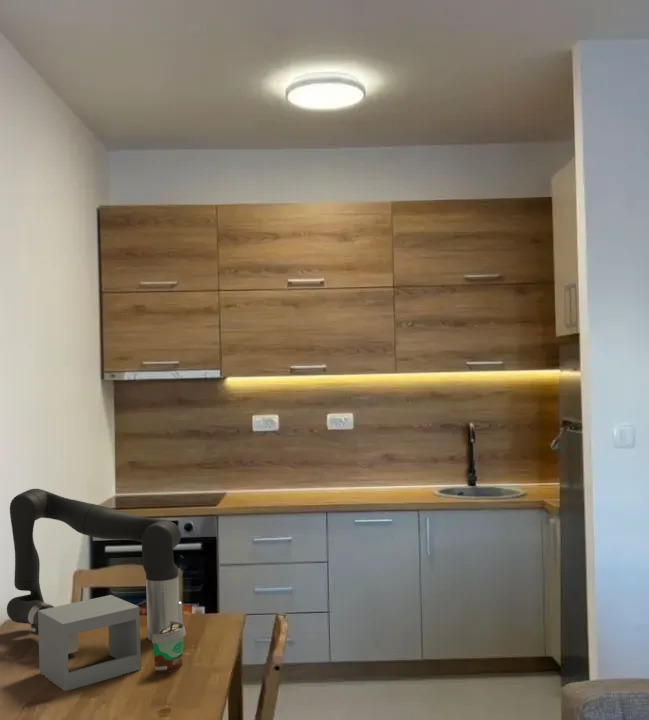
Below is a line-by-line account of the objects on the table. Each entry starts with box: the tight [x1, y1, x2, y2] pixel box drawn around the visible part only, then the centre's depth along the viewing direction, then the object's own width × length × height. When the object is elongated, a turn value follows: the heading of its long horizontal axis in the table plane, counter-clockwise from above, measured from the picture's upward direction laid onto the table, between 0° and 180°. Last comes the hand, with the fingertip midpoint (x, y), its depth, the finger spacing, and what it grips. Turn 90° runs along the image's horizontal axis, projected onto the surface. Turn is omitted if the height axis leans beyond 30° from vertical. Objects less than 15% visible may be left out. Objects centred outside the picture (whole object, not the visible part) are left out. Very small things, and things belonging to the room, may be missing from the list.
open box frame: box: [38, 594, 142, 692], centre depth 200 cm, size 20×17×16 cm
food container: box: [151, 621, 187, 674], centre depth 201 cm, size 12×6×10 cm, turn 168°
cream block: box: [68, 633, 79, 655], centre depth 212 cm, size 5×5×10 cm
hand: (68, 631), depth 211 cm, fingers closed on cream block, 5 cm apart
